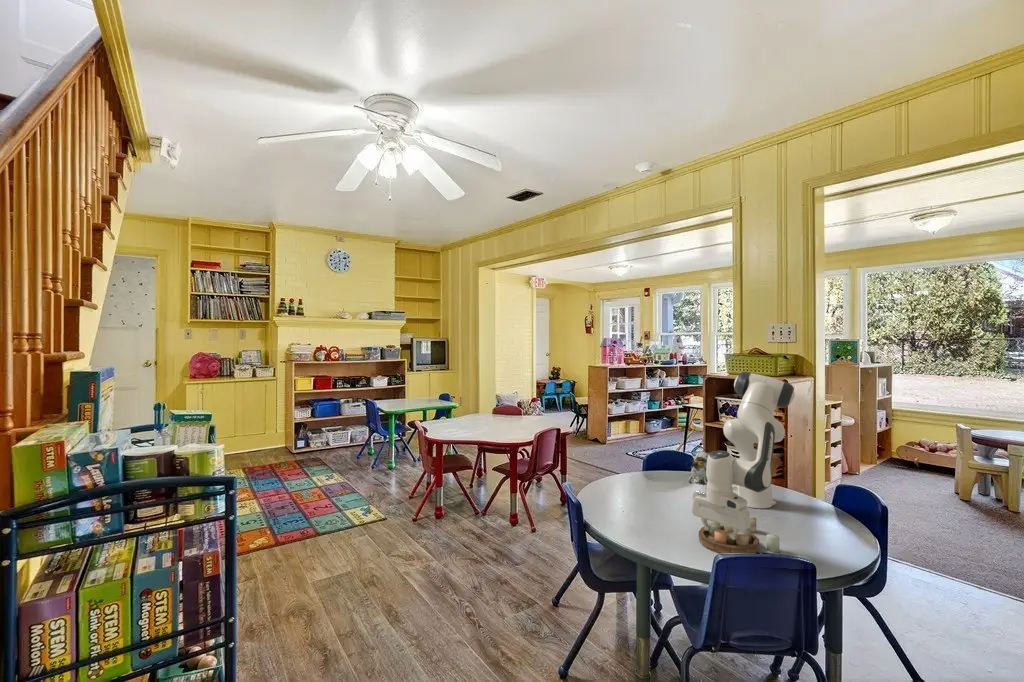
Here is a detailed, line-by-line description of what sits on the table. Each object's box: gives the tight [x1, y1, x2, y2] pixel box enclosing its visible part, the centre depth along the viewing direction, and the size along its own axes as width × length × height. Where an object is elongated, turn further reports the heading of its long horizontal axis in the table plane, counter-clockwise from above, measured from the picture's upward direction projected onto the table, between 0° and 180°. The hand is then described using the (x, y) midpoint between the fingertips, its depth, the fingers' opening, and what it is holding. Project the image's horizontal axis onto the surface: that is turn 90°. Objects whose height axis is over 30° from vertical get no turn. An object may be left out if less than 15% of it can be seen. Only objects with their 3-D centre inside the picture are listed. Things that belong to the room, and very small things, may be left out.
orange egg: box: [714, 530, 727, 545], centre depth 167 cm, size 4×4×5 cm
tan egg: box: [749, 516, 757, 534], centre depth 183 cm, size 4×4×5 cm
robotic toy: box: [685, 450, 710, 486], centre depth 248 cm, size 13×17×15 cm
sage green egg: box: [766, 533, 781, 554], centre depth 166 cm, size 4×4×5 cm
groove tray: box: [698, 521, 760, 554], centre depth 171 cm, size 20×20×6 cm
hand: (719, 534), depth 168 cm, fingers open, 8 cm apart
